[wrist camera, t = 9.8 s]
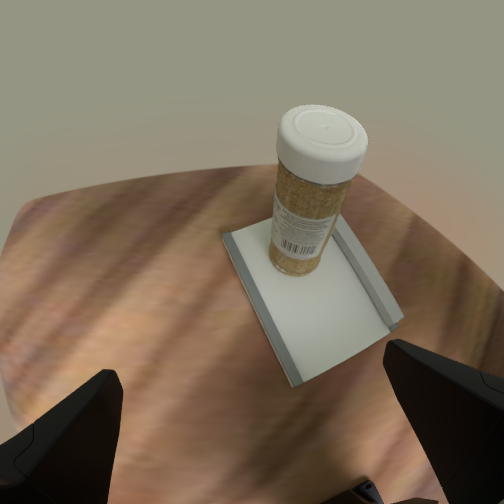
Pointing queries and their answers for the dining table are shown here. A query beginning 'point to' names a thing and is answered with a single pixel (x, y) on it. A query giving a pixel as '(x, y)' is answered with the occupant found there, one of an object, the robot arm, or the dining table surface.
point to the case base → (314, 300)
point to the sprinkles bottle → (312, 183)
